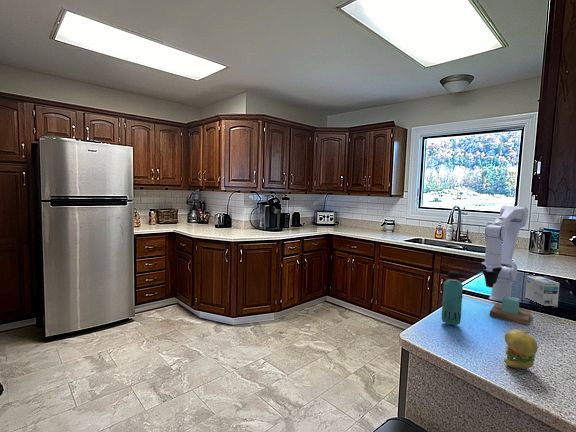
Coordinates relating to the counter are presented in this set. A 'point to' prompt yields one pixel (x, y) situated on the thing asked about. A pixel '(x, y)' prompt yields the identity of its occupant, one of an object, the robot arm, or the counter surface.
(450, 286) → the beverage bottle
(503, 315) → the walnut base
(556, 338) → the counter surface
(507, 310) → the teal cube
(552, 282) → the light bulb box
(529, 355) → the hamburger
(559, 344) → the counter surface
